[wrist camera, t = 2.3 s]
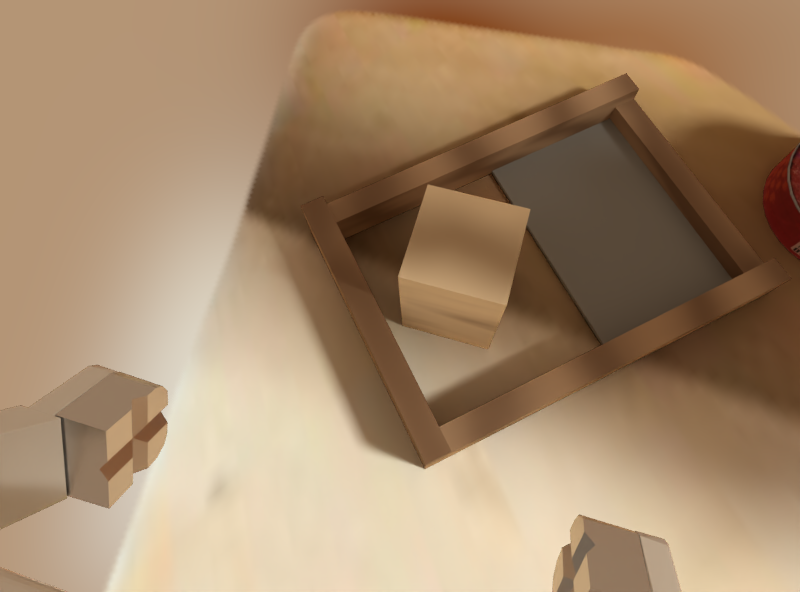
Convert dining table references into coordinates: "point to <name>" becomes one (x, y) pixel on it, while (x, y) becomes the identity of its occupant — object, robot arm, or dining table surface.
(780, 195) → the canned food
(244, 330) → the dining table surface
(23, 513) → the robot arm
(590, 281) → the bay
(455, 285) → the tan wooden block
